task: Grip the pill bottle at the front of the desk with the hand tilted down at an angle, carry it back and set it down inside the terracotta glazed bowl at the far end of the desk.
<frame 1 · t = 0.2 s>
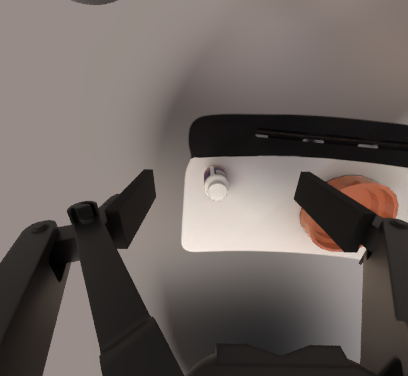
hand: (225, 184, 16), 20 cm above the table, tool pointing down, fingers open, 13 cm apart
pill bottle: (215, 174, 37), on the table
bowl: (337, 209, 40), on the table
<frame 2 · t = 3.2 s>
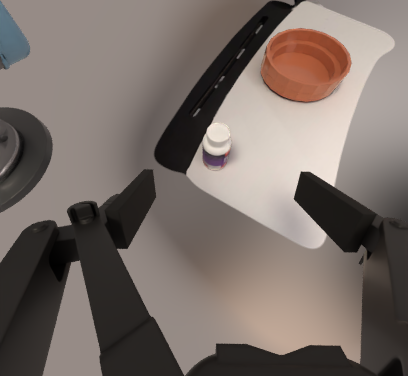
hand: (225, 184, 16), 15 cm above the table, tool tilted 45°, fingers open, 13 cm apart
pill bottle: (214, 160, 33), on the table
bowl: (297, 74, 41), on the table
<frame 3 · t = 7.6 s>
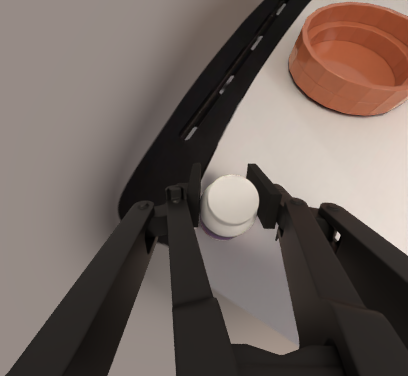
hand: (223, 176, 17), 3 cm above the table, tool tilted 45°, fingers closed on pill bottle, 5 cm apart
pill bottle: (221, 219, 19), on the table, touching gripper
bowl: (343, 73, 27), on the table
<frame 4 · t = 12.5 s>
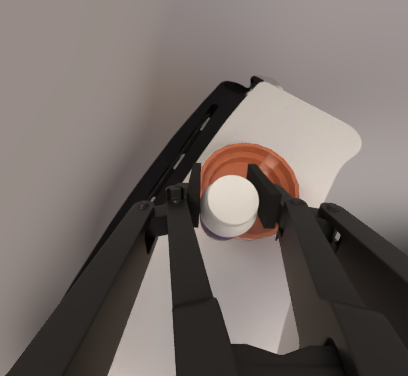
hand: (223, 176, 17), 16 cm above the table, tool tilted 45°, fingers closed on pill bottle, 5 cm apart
pill bottle: (221, 219, 19), point 13 cm above the table, touching gripper
bowl: (242, 193, 34), on the table
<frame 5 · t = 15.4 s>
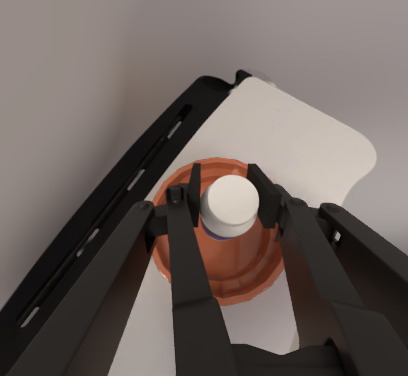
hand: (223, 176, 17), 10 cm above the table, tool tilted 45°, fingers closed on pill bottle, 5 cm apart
pill bottle: (221, 219, 19), point 6 cm above the table, touching gripper
bowl: (216, 225, 25), on the table
when the fingers open (4 cm above the table, at t = 17.4 s): pill bottle stays where it is, resting on bowl.
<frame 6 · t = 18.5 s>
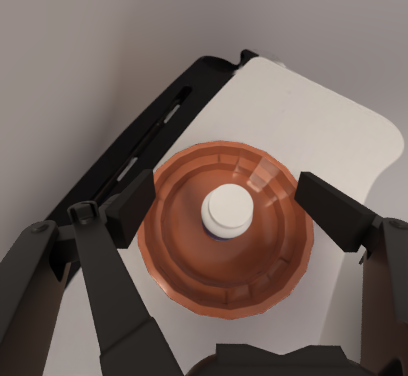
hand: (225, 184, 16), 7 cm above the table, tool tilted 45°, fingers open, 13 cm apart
pill bottle: (220, 221, 21), resting on bowl
bowl: (220, 221, 22), on the table
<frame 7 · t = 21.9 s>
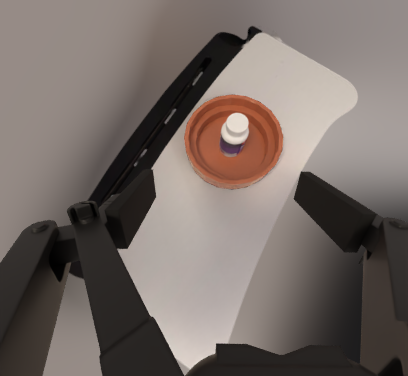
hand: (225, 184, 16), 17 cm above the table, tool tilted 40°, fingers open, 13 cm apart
pill bottle: (230, 147, 35), resting on bowl
bowl: (230, 147, 35), on the table
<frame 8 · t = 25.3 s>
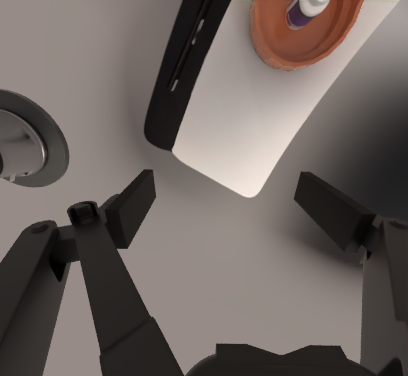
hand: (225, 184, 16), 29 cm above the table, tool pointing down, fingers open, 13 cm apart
pill bottle: (296, 14, 32), resting on bowl
bowl: (295, 15, 32), on the table
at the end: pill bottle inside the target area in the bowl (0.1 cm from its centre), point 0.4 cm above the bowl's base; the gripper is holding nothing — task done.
